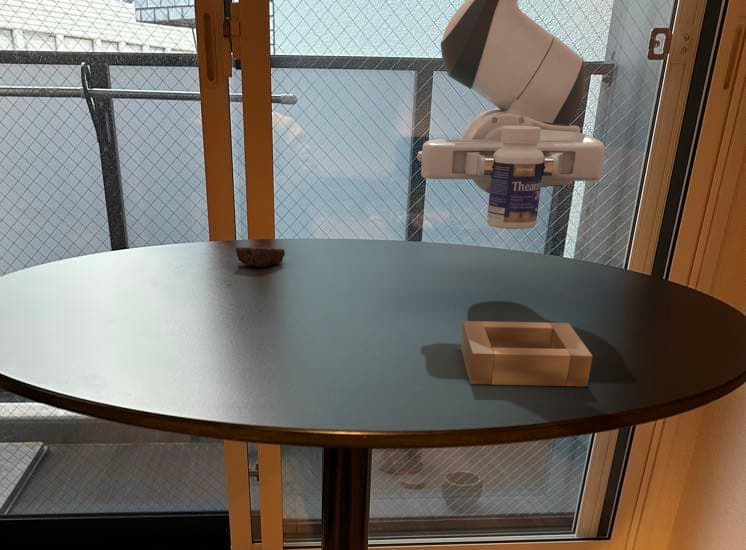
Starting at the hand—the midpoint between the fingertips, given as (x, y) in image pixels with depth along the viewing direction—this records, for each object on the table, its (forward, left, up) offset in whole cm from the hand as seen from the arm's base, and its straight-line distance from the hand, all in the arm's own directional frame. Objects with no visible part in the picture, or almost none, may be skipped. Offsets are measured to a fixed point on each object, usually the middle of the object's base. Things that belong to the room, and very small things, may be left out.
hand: (519, 167), depth 85 cm
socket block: (0, +15, -17) cm, 23 cm away
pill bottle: (0, -1, -6) cm, 6 cm away
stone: (+32, -30, -17) cm, 47 cm away
